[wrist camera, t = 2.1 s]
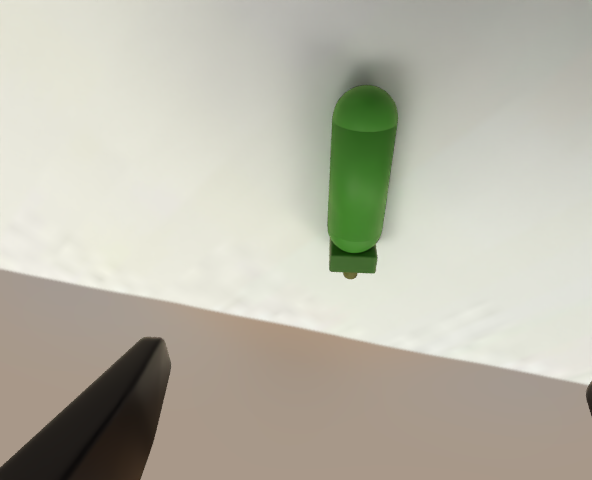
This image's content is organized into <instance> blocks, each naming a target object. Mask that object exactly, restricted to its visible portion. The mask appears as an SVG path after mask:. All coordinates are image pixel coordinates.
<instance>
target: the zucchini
mask: <svg viewBox="0 0 592 480" xmlns="http://www.w3.org/2000/svg"><path fill="white" fill-rule="evenodd" d="M397 123H398V113H397V107H396V105H395V102H394V101H393V99H392V98H391V96H390V95H389V94H388V93H387V92H386V91H384V90H383V89H381V88H379V87H376V86H372V85H361V86H357V87H354V88H352V89H350V90H349V91H347V92H346V93H344V95H343V96H342V97H341V98H340V99H339V100H338V102H337V104H336V106H335V109H334V112H333V118H332V137H331V158H330V180H329V202H328V223H327V226H328V233H329V236H330V247H329V270H330V271H331V272H343V274H344V277H345V278H347V279H354V278H356V276H357V273H375V271H376V265H377V251H376V243H377V241H378V240H379V238H380V236H381V233H382V228H383V221H384V214H385V207H386V200H387V193H388V186H389V179H390V172H391V165H392V158H393V151H394V144H395V137H396V130H397Z"/></svg>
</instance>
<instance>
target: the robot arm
mask: <svg viewBox="0 0 592 480" xmlns="http://www.w3.org/2000/svg"><path fill="white" fill-rule="evenodd" d="M170 369H171V362H170V358H169V355H168V351H167V347H166V344H165V341H164V340H163V339H162V338H160V337H144V338H142V339H140V340H139V341H138V342H137V343H136V344H135V345H134V346H133V347H132V348H131V349H129V350H128V351H127V352H126V353H125V354H124V355H123V356H122V357H121V358H120V359H119V360H117V361H116V362H115V363H114V364H113V365H112V366H111V367H110V368H109V369H108V370H107V371H105V372H104V373H103V374H102V375H101V376H100V377H99V378H98V379H97V380H96V381H94V382H93V383H92V384H91V385H90V386H89V387H88V388H87V389H86V390H85V391H84V392H82V393H81V394H80V395H79V396H78V397H77V398H76V399H75V400H74V401H73V402H71V403H70V404H69V406H67V407H66V408H65V409H64V410H63V411H62V412H61V413H59V414H58V415H57V416H56V417H55V418H54V419H53V420H52V421H51V422H50V423H49V424H47V425H46V426H45V427H44V428H43V429H42V430H41V431H40V432H39V433H38V434H36V436H34V437H33V438H32V439H31V440H30V441H29V442H28V443H27V444H26V445H24V446H23V447H22V448H21V449H20V450H19V451H18V452H17V453H16V454H15V455H14V456H12V457H11V458H10V459H9V460H8V461H7V462H6V463H5V464H4V465H3V466H1V467H0V480H140V479H141V476H142V473H143V470H144V468H145V465H146V462H147V459H148V456H149V454H150V450H151V447H152V444H153V441H154V437H155V433H156V430H157V425H158V421H159V417H160V413H161V409H162V404H163V400H164V396H165V391H166V387H167V383H168V379H169V375H170ZM586 398H587V402H588V405H589V409H590V412H591V416H592V382H591V383H590V384H589V386H588V388H587V391H586Z"/></svg>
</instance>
